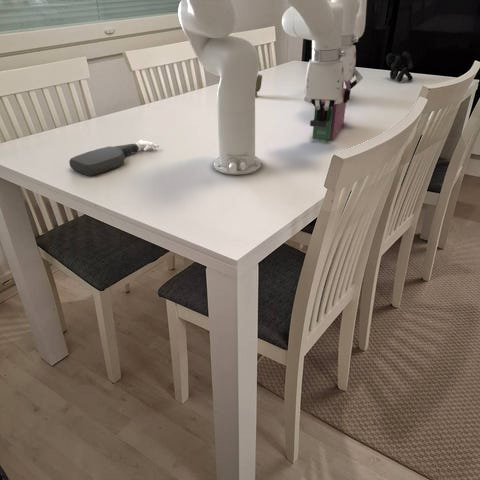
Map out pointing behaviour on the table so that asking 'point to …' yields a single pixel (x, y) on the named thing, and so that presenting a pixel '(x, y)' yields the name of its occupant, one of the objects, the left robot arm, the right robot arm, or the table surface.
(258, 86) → the cup
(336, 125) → the tall purple box
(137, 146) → the spray bottle
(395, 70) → the squiggle
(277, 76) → the table surface
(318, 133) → the drawer
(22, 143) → the table surface
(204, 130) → the table surface
